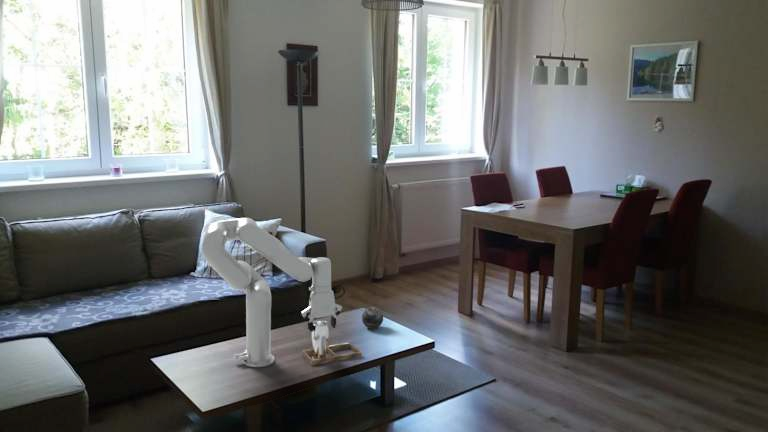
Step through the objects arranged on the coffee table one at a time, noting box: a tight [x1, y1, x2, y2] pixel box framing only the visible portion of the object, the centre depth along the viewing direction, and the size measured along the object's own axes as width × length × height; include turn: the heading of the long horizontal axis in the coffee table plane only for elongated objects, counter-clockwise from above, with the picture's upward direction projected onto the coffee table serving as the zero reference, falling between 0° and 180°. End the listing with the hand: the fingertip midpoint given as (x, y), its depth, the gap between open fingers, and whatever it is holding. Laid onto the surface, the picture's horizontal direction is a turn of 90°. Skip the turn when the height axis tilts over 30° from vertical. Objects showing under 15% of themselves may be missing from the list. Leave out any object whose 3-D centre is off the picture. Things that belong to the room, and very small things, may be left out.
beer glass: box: [311, 320, 330, 360], centre depth 253 cm, size 7×7×15 cm
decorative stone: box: [361, 306, 384, 330], centre depth 289 cm, size 10×10×10 cm
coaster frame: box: [301, 342, 363, 366], centre depth 257 cm, size 22×11×2 cm, turn 118°
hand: (322, 328), depth 252 cm, fingers open, 9 cm apart
